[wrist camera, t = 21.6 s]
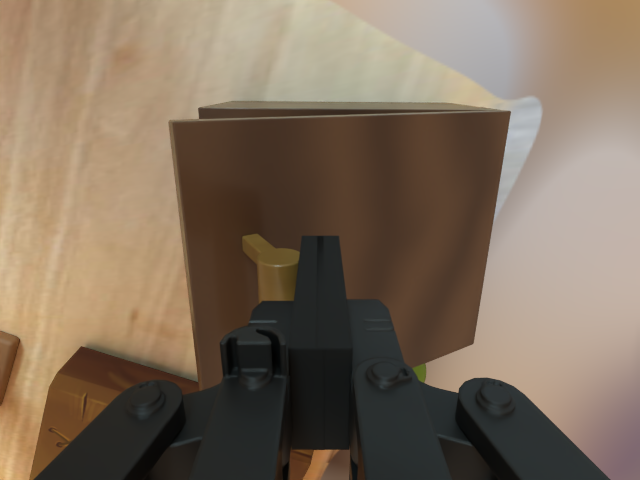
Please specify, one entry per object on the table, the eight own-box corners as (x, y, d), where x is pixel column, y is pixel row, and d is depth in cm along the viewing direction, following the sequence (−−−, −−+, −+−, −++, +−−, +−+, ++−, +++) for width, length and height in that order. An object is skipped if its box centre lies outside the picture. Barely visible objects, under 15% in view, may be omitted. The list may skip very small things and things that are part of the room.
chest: (242, 274, 37) (218, 337, 28) (231, 101, 32) (198, 107, 23) (428, 274, 37) (466, 337, 28) (447, 102, 32) (501, 110, 23)
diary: (314, 410, 42) (314, 458, 37) (255, 529, 48) (247, 586, 43) (85, 340, 39) (49, 381, 34) (52, 477, 45) (17, 531, 39)
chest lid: (204, 438, 20) (236, 520, 16) (167, 120, 15) (201, 132, 11) (464, 338, 28) (525, 377, 24) (498, 110, 23) (583, 115, 19)
